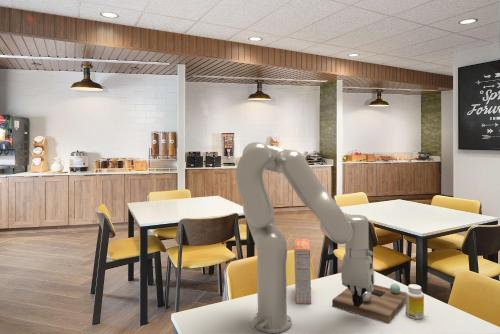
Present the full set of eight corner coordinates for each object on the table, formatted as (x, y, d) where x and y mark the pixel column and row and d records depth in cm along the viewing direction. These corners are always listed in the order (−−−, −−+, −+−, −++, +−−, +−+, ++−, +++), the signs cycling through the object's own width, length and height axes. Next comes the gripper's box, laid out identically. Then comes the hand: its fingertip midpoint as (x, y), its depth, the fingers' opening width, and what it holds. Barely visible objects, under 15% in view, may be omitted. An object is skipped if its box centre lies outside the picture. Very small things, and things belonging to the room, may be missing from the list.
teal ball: (398, 295, 131) (398, 286, 130) (388, 293, 133) (388, 284, 132) (401, 292, 133) (401, 283, 133) (391, 290, 135) (391, 281, 135)
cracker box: (295, 288, 145) (294, 238, 144) (310, 288, 144) (309, 238, 143) (294, 303, 131) (294, 248, 130) (311, 304, 131) (310, 248, 129)
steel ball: (369, 305, 123) (369, 293, 123) (356, 302, 126) (356, 289, 126) (373, 301, 127) (373, 288, 126) (361, 297, 130) (361, 285, 129)
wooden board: (388, 323, 116) (388, 316, 116) (332, 306, 129) (332, 299, 129) (408, 299, 133) (408, 293, 133) (357, 286, 146) (357, 280, 145)
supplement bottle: (427, 318, 119) (427, 288, 118) (412, 320, 117) (413, 290, 117) (416, 310, 124) (416, 282, 123) (402, 312, 123) (402, 284, 122)
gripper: (383, 253, 117) (383, 307, 119) (341, 245, 127) (342, 295, 128) (374, 259, 112) (375, 316, 113) (331, 251, 121) (332, 303, 123)
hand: (357, 305), depth 121 cm, fingers closed
